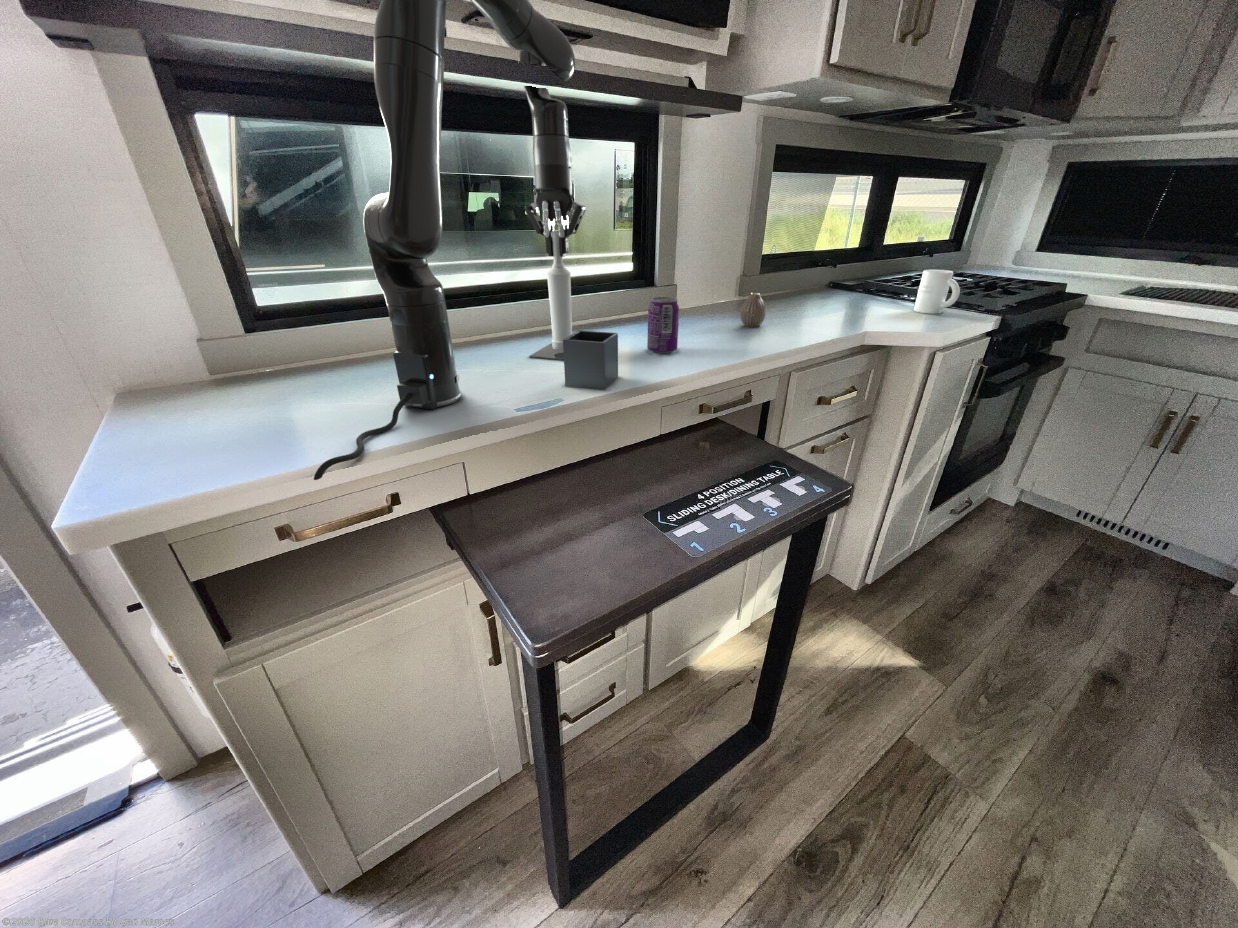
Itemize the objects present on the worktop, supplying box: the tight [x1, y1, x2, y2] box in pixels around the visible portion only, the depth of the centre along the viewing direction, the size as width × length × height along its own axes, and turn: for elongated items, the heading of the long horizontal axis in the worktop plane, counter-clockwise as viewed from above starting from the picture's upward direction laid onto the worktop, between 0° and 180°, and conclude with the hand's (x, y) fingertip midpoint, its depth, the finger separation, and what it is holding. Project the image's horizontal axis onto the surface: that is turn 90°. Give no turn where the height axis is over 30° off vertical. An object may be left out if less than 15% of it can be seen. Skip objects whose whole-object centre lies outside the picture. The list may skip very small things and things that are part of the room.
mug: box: [913, 269, 961, 315], centre depth 156 cm, size 8×12×12 cm
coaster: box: [528, 342, 564, 362], centre depth 120 cm, size 12×12×1 cm
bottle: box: [546, 230, 573, 350], centre depth 113 cm, size 5×5×25 cm
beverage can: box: [646, 296, 680, 355], centre depth 118 cm, size 7×7×12 cm
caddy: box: [563, 330, 619, 391], centre depth 99 cm, size 8×8×9 cm
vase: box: [740, 292, 767, 328], centre depth 142 cm, size 7×7×9 cm
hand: (557, 255), depth 110 cm, fingers closed on bottle, 2 cm apart
